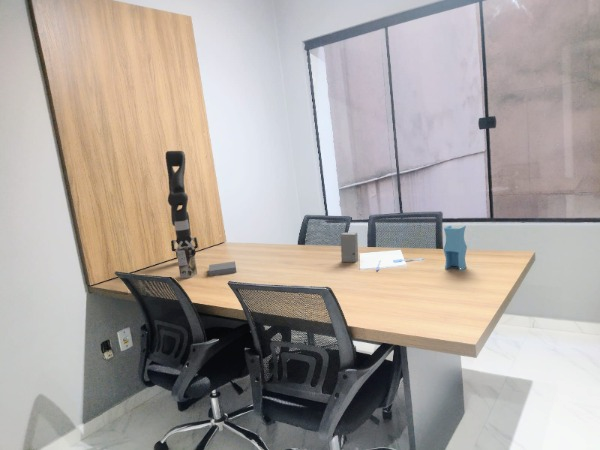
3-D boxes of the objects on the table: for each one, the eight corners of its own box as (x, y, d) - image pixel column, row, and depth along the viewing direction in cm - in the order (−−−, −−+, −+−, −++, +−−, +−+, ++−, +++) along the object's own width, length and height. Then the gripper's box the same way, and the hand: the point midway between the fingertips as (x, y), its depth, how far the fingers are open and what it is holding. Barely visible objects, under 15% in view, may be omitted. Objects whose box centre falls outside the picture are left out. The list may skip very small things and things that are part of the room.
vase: (467, 266, 200) (465, 225, 197) (460, 270, 194) (459, 228, 191) (451, 265, 205) (449, 225, 202) (444, 269, 200) (442, 228, 196)
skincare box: (341, 262, 231) (339, 234, 229) (345, 259, 238) (342, 232, 235) (356, 262, 228) (354, 234, 225) (359, 259, 234) (357, 231, 232)
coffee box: (190, 278, 230) (186, 249, 228) (180, 278, 231) (175, 250, 229) (197, 273, 239) (194, 246, 236) (187, 273, 240) (183, 246, 238)
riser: (210, 269, 244) (209, 264, 244) (235, 266, 247) (234, 261, 246) (209, 276, 230) (208, 271, 229) (236, 272, 232) (235, 267, 232)
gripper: (195, 226, 236) (199, 253, 238) (169, 229, 233) (174, 257, 236) (194, 227, 228) (198, 256, 231) (168, 231, 226) (172, 260, 229)
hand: (186, 256), depth 233 cm, fingers closed on coffee box, 8 cm apart
